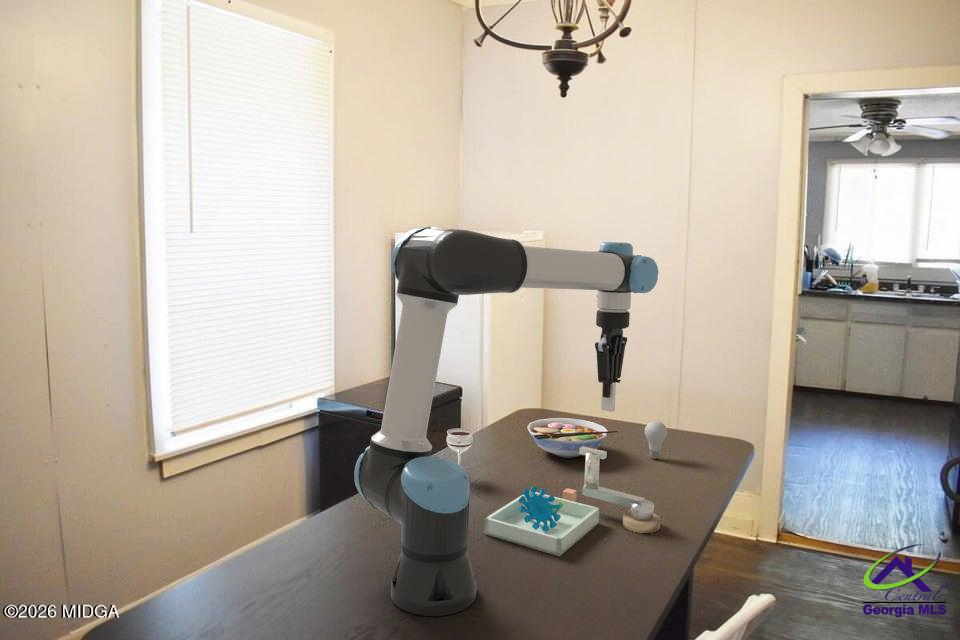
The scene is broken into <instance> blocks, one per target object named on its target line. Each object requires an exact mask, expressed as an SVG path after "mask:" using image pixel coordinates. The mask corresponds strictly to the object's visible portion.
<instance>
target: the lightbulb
mask: <svg viewBox="0 0 960 640" xmlns="http://www.w3.org/2000/svg"><path fill="white" fill-rule="evenodd" d="M644 428H645V429H644V435H645V437H646V439H647V441H648V449H649V457H650V458H651V459H652V460H657V459H658V458H659V457H660V451H661V449H662V445H663V443H664V441H665V440H666V438H667V434H668V428H667V426H666V425H665V424H664V423H663V422H662V421H659V420H652V421H649V422H648V423H647V424H646V425H645V427H644Z"/></svg>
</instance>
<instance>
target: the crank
mask: <svg viewBox="0 0 960 640" xmlns="http://www.w3.org/2000/svg"><path fill="white" fill-rule="evenodd" d="M579 454H582V455H581V456H585V458H584V459H585V462H584V479H583V486H582V496H586V497H588V498H593V499H597V500H601V501H604V502H607V503H610V504H611V503H612V504H615V505H619V506H622V507H626V508H629V509H630V510H629V511H630V516H631V517H632V518H633V519H635V520H639V521H650V520H652V519H653V517H654V514H655V503H654V502H653V501H651V500H649V499H646V498H645V497H642V496H638V495H634V494H631V493H630V494H629V493H626V492H623V491H619V490H615V489H611V488H607V487H603V486H599V480H600V479H599V478H600V460H605V459H607V451H605V450H601V449H598V448H597V449H593V448H588V447H584V446H582V447H580V450H579Z"/></svg>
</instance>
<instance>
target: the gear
mask: <svg viewBox="0 0 960 640" xmlns="http://www.w3.org/2000/svg"><path fill="white" fill-rule="evenodd" d="M530 491H531V492H532V497H530V496H529V493H530ZM530 491H529V489H528V488H526V489H524V490H523V491H522V495H525V497H526V498H527V501H528V502H526V500H525V497H524V496H521V495H520V496H521V497H520V496H519V497H520V498H519V500H518V501H519V502H520V503H522V504H524V505H525V506H526V507H527V509H526V508H525V507H524V506H521V507H520V508H519V512H520V513H528V514H529V515H527V516H525V517H524V520H525V522H526V523H528V522H529V521H530V520H533V519H535V520H536V521H537V522H536V523H534V524H533V525H532V527H533V528H534V529H535V530H537V529H538V528H539V524H540V522H543V523H544V526H543V527H542V530H543V531H548V530H549V527H548V524H547V521H548V520H549V521H550V528H554V527H556V526H557V524H556V523H555V522H554V520H555V521H558V520H559V519H560V517H561V516H560V515H559V514H556V513H557V511H559V509H561V508H562V507H563V504H562V503H559V504H558V505H557V504H556V505H552V504H550V503H549V502H548V501H550V502H553V501H554V500H555V498H554V497H555V496H554V495H553V494H550V495H549V497H548V498H543V496H542V495H547V493H548V491H547V490H546V489H545V488H544V487H543V488H541V489H540V490H539V493H540V494H539V496H537V495H536V494H535V492H538V487H536V486H532V487H531V488H530ZM551 515H552V516H553V517H554V520H553V519H552V516H551Z"/></svg>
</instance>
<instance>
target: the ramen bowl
mask: <svg viewBox="0 0 960 640" xmlns="http://www.w3.org/2000/svg"><path fill="white" fill-rule="evenodd" d="M527 430H528V432H529V434H530V436H531V437H532V439H533V441H534V443H535V444H536V445H537V446H538V447H539V448H541V449H542V450H544V451H546V452H548V453H551V454H553V455H555V456H556V457H558V458H559V457H560V458H565V459H570V458H571V459H572V458H577V457H579V456H583V455H582V454H579V450H580V447H582V446H584V447H588V448H593V449H597V450H598V448H599V447H600V446H601V445H602V443H603V442H604V441H605V439H606V437H607V435H608V434H612V433H618V431H617V430H610V431H609V430H608V429H607V428H606V427H605V426H604V425H601V424H599V423H596V422H593V421H588V420H584V419H578V418H570V417H569V418H568V417H567V418H566V417H555V418H554V417H552V418H551V417H550V418H544V419H543V418H542V419H538V420H535V421H532V422H530V423H528V425H527Z"/></svg>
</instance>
